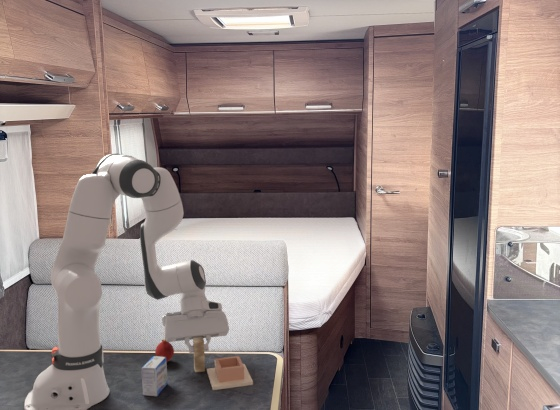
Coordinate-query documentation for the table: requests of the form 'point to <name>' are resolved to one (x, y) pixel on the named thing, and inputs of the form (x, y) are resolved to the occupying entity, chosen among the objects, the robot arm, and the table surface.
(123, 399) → the table surface
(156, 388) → the medicine box
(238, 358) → the stepped square socket
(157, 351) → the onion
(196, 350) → the tall tan block
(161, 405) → the table surface
